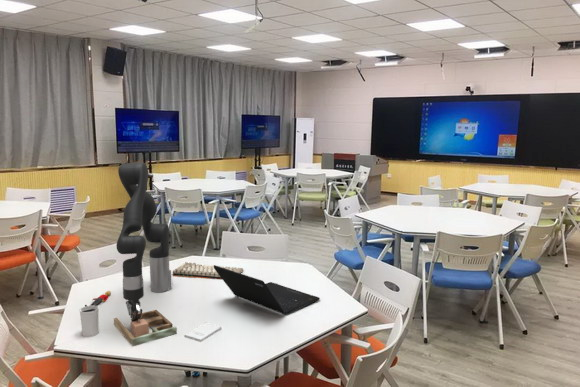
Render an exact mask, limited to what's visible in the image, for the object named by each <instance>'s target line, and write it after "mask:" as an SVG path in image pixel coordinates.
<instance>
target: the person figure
mask: <svg viewBox="0 0 580 387" xmlns="http://www.w3.org/2000/svg"><path fill="white" fill-rule="evenodd" d="M111 293H112V292H111V291H110V290H107V291H105V293H103V294H101V295H99V296H98V297H96V298H95V297H94V298H92V301H93V302H92V303H91V304H90V305H89V306H92V305H94V306H97V305H98V304H100V303H104V302H107V300H108V299H109V297H110V296H111ZM86 306H88V305H87V304H84V307H86Z"/></svg>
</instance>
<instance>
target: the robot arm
mask: <svg viewBox="0 0 580 387" xmlns="http://www.w3.org/2000/svg"><path fill="white" fill-rule="evenodd" d="M117 174H118V177H119V180H120V183H121V184H122V186H123V187H124V189H125V191H126V192H127V194H128V196H129V201H128V202H127V203H126V205H125V208H124V210H123V215H122V216H123V219H122V227H121V231H120V232H119V233H120V234H119V236H118V238H117V241H116V245H115V246H116V250H117V252H118V254H121V255H134V254H135V256H134V257H132V258H127V259H125V260H124V261H123V262H122V276H123V277H122V294H123V296H122V297H123V300H126V301H125V305H126V308H127V313H128V316H129V318H130V320H131V322H133V321H137V320H138V319H140V317H141V315H142V313H143V309H142V308H141V301H140V300H141V299H142V298H143V297H144V296H145V292H144V290H145V289H144V277H143V258H144V257H143V256H144V254H145V249H146V246H147V242H149V243H155V244H157V243H159V244H160V246H158V247H155V248H152V249H150V250H149V253H148V254H149V274H150V275H149V277H150V281H149V283H150V291H151V292H153V293H163V292H168V291H169V290H172V288H173V287H172V270H171V269H170V227H169V225H168V224H167V223H153V222H152V220H154V217H156V214H157V212H158V211H157V210H158V208H157V207H158V206H157V203H156V202H155V199H154V196H152V194H150V193H149V192H148V191H147V188H148V182H149V169H148V166H147V164H146V163H145V162H143V161H142V162H138V161H137V162H129V163H123V164H120V165H119V167H118V171H117ZM141 230H142V231H143V233H144V236H143V235H139V234H138V235H131V234H134V233H137V232H140V231H141ZM131 322H130V323H131Z"/></svg>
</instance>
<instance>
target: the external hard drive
mask: <svg viewBox="0 0 580 387" xmlns="http://www.w3.org/2000/svg"><path fill="white" fill-rule="evenodd" d="M221 330H222V326H221V325H218V324H213V323H209V322H204V323H202V324H201V325H199V326H197V327H196V328H194V329H192V330H191V331H189V332H187V333H185V334H183V336H184V338H187V339H190V340H194V341H196V342H200V343H201V342H203V341H204V340H206V339H208V338H210V337H211V336H213V335H214V334H216V333H217V332H220V331H221Z"/></svg>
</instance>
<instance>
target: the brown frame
mask: <svg viewBox="0 0 580 387" xmlns="http://www.w3.org/2000/svg"><path fill="white" fill-rule="evenodd" d="M141 319H145V320H146V321H147V322H148V325H149V329H151V332H149V334H146V335H142V336H139V337H135V338H134V336H133V335H132V332H130V331H129V329H127V327H126V326H125V324H123V323H122V321H120V319H119V318H118V317H114V318H113V325H114V326H115V327H116V328H117V329H118V331H119V332H120V333H121V334H122V336H124V338H125V339H126V340H127V341H128V342H129V343H130V345H131V346H132V347H135V346H139V345H142V344H145V343H149V342H151V341H155V340H159V339H162V338H166V337H169V336H172V335H177V334H178V333H177V332H178V328H177V326H174V325H173V323H172V322H171V321H170V320H169V319H168V318H166V317H165V316H164V315H163V314H162V313H160V312H159V310H157V309H153V310H149V311H146V312H142V315H141V317H140V319H138V320H141Z"/></svg>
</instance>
